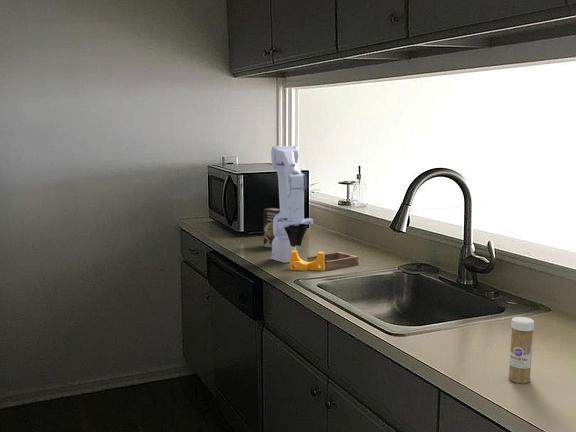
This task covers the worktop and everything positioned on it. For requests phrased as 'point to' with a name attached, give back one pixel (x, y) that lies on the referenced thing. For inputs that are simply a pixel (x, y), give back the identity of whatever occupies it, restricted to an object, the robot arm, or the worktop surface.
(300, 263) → the pipe clamp
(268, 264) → the worktop surface
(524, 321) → the sprinkles bottle
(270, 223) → the coffee box
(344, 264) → the brown wooden tray
